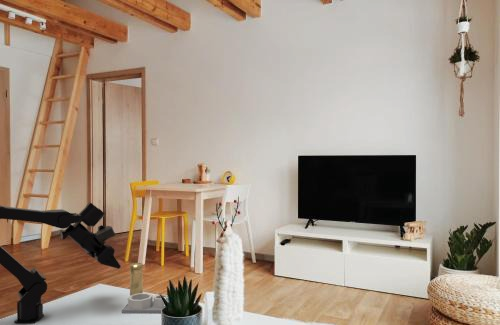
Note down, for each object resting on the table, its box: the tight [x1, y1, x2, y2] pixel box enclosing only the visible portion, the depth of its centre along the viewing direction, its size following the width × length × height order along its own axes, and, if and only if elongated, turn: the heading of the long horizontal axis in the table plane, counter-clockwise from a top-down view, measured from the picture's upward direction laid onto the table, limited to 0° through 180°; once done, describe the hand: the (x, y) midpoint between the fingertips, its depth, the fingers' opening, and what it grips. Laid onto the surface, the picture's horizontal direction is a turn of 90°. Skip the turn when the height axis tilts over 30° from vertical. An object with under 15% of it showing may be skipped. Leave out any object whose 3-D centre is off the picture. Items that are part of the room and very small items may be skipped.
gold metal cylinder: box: [129, 262, 144, 297], centre depth 155 cm, size 5×5×12 cm
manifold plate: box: [121, 292, 169, 314], centre depth 144 cm, size 16×9×4 cm, turn 89°
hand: (115, 264), depth 151 cm, fingers open, 9 cm apart
